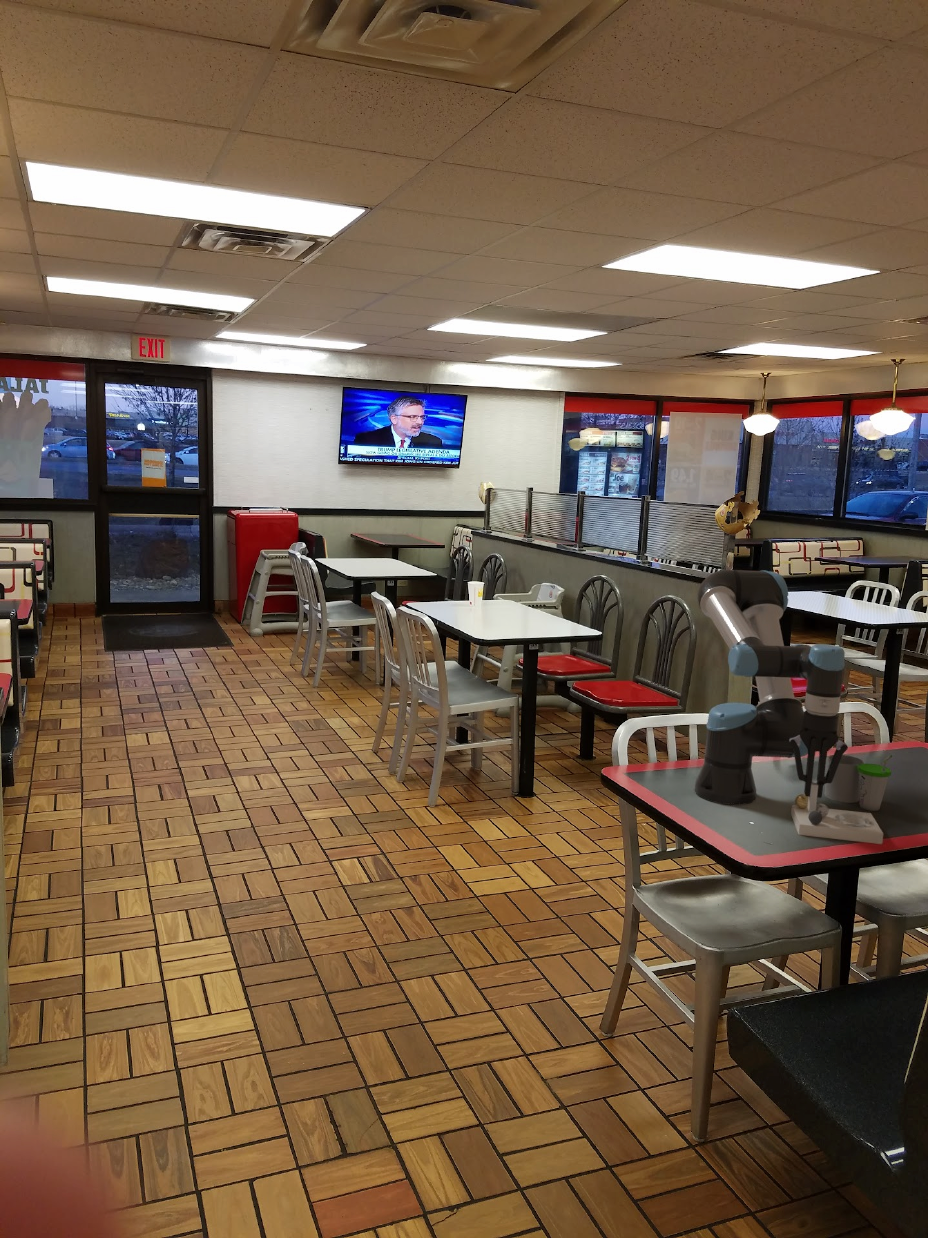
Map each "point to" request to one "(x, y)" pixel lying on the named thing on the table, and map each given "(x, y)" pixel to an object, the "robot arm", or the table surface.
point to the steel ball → (822, 809)
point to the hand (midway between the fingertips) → (811, 810)
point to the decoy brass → (801, 801)
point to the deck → (839, 825)
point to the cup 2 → (872, 784)
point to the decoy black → (815, 817)
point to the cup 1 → (844, 780)
